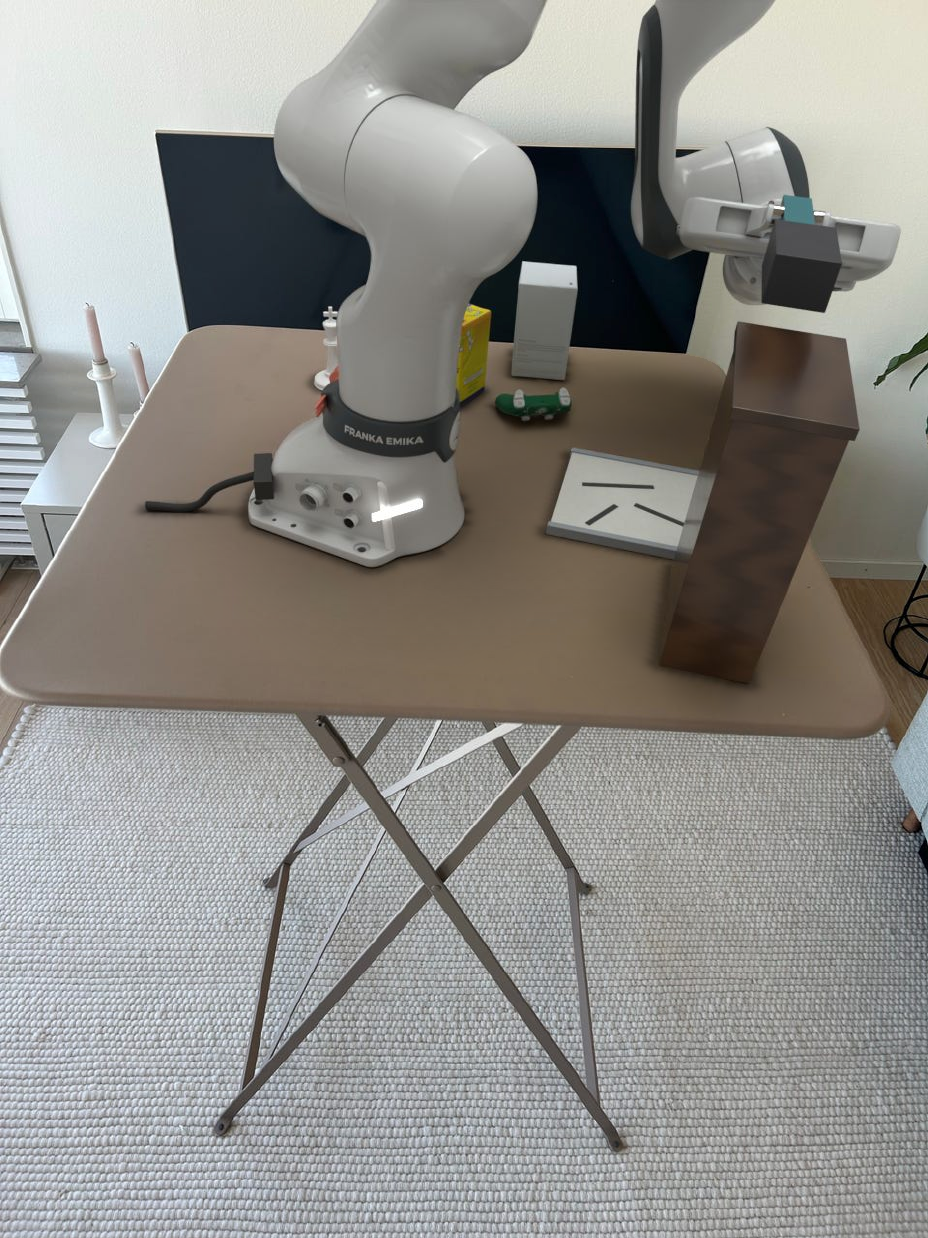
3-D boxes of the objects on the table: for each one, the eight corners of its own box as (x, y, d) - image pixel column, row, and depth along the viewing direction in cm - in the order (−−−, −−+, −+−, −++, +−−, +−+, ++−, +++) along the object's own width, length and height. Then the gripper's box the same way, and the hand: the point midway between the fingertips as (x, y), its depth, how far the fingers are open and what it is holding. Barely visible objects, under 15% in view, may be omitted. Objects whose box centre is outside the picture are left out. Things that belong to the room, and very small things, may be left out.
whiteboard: (545, 534, 92) (547, 525, 91) (570, 455, 103) (571, 446, 103) (723, 569, 89) (726, 560, 89) (728, 485, 101) (731, 476, 100)
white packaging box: (565, 356, 122) (579, 264, 113) (564, 382, 116) (578, 287, 108) (512, 350, 122) (521, 259, 113) (509, 376, 117) (518, 282, 108)
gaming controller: (495, 427, 110) (506, 414, 105) (492, 396, 111) (503, 383, 105) (566, 423, 112) (580, 411, 106) (563, 393, 112) (577, 379, 106)
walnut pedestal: (655, 666, 79) (732, 406, 61) (668, 566, 89) (737, 320, 72) (752, 687, 78) (860, 428, 60) (754, 584, 88) (846, 338, 70)
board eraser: (761, 303, 71) (775, 253, 68) (761, 223, 84) (774, 178, 81) (824, 313, 70) (842, 263, 67) (815, 231, 83) (829, 186, 81)
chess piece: (314, 373, 114) (309, 298, 107) (352, 373, 115) (350, 298, 108) (314, 392, 111) (309, 316, 104) (353, 392, 111) (351, 316, 104)
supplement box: (420, 393, 112) (422, 310, 104) (447, 376, 116) (451, 294, 108) (458, 409, 110) (463, 325, 102) (485, 391, 113) (492, 308, 106)
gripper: (682, 201, 93) (689, 163, 80) (883, 229, 90) (925, 195, 77) (668, 264, 94) (673, 237, 81) (865, 294, 91) (904, 271, 78)
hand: (798, 217), depth 79 cm, fingers closed on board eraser, 2 cm apart
